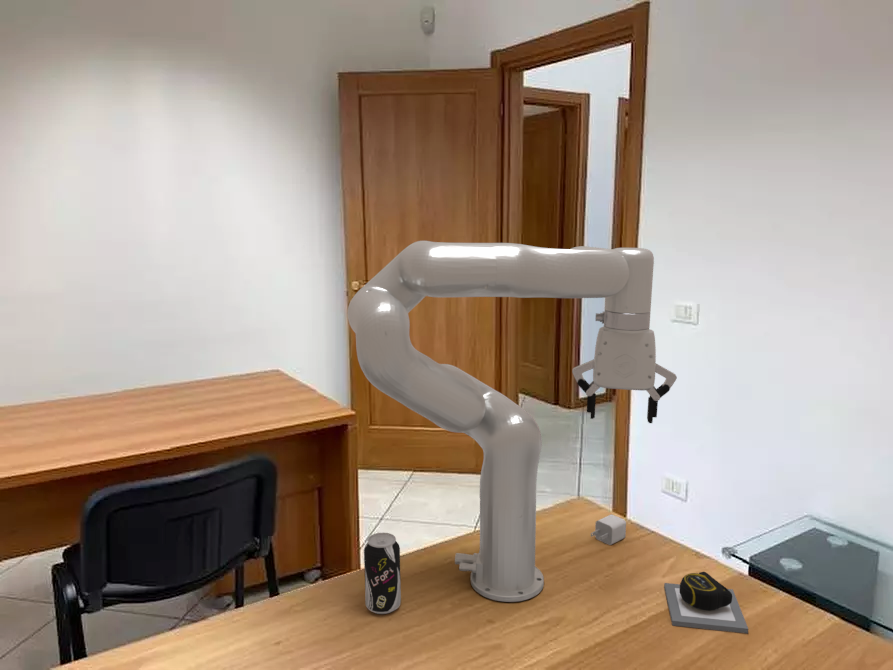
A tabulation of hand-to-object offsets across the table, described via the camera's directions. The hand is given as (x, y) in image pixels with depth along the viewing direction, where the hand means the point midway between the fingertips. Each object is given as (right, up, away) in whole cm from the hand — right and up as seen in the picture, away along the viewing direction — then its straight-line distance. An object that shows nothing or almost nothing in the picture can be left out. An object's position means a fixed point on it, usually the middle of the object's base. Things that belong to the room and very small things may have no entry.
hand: (620, 418), depth 118 cm
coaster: (+11, -30, -8) cm, 33 cm away
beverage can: (-41, -30, -7) cm, 51 cm away
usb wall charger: (+1, -26, +14) cm, 30 cm away
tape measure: (+12, -29, -8) cm, 32 cm away
